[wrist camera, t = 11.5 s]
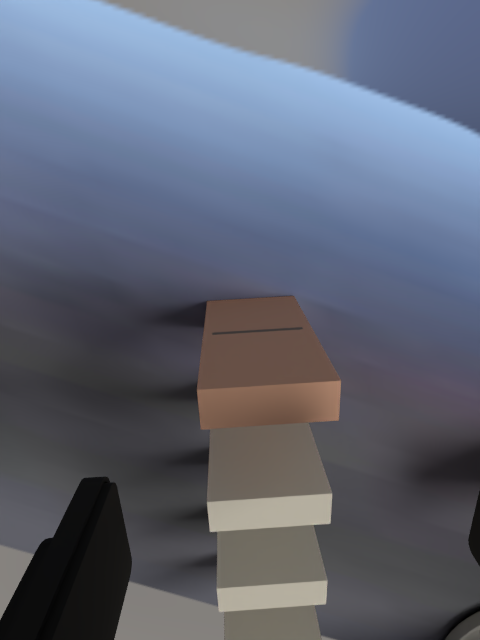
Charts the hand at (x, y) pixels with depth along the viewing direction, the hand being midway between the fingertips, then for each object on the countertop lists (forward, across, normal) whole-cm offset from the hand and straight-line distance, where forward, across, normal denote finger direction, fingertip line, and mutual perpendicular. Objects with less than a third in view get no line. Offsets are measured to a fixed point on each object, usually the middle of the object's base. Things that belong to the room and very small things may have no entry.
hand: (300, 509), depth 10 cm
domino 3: (+13, +1, +9) cm, 16 cm away
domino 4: (+13, +1, +4) cm, 13 cm away
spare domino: (+13, +1, -1) cm, 13 cm away
